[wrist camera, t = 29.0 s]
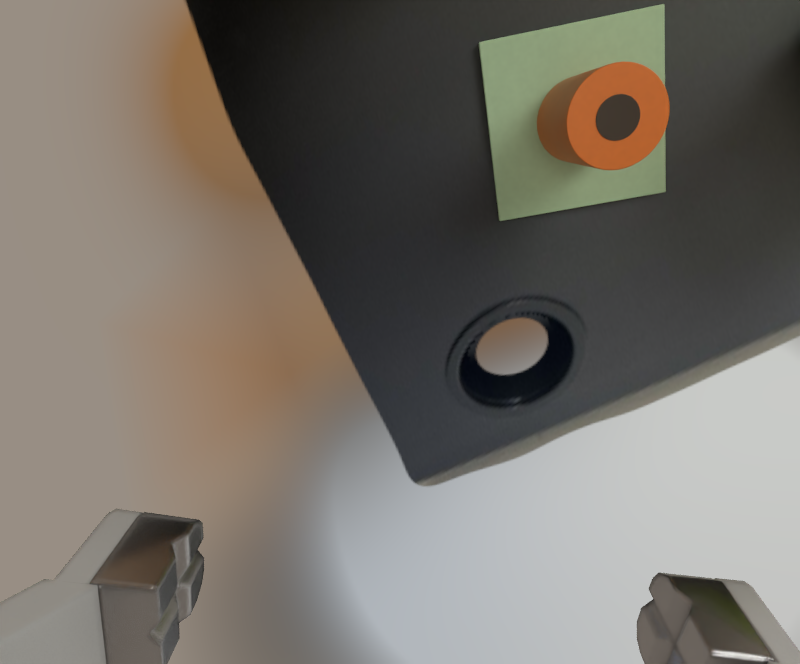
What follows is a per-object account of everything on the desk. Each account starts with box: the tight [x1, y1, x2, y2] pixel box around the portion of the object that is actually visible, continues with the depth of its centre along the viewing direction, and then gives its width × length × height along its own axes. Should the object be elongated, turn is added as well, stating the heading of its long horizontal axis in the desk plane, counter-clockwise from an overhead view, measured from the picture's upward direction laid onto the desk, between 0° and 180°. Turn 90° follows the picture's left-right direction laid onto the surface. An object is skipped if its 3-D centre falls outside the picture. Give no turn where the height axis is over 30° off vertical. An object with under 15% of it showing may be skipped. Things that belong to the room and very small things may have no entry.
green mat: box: [479, 4, 666, 221], centre depth 37 cm, size 12×12×1 cm
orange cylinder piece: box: [537, 61, 669, 170], centre depth 33 cm, size 6×6×8 cm
